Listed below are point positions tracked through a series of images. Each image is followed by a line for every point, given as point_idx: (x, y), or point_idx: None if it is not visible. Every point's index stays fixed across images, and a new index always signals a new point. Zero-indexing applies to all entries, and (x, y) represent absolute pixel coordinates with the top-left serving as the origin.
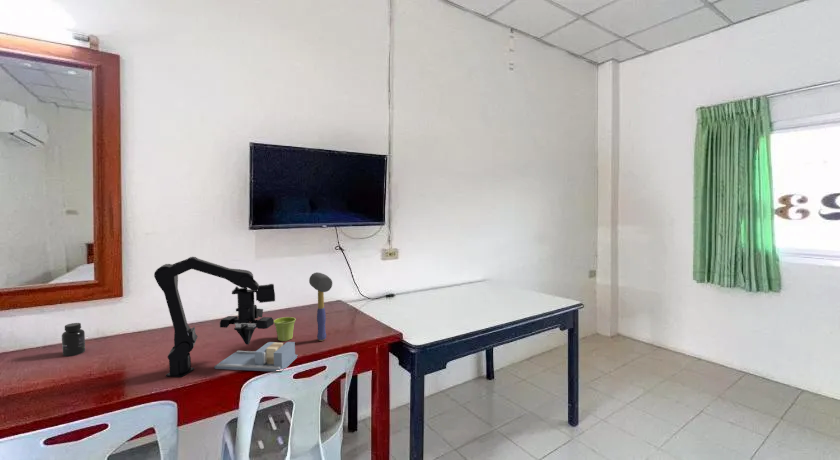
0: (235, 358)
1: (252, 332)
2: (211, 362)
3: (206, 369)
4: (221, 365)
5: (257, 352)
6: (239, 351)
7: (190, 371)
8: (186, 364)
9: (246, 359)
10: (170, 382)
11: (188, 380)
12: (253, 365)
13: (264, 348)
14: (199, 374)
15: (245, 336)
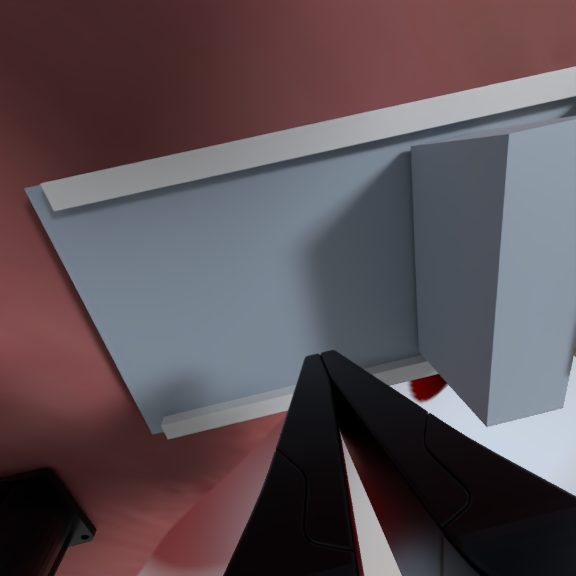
0: (175, 305)
1: (492, 480)
2: (29, 370)
3: (118, 441)
4: (200, 427)
5: (511, 416)
6: (81, 197)
7: (68, 495)
8: (37, 571)
9: (278, 289)
10: (103, 563)
11: (163, 530)
12: (420, 369)
13: (546, 336)
14: (148, 484)
15: (397, 556)
